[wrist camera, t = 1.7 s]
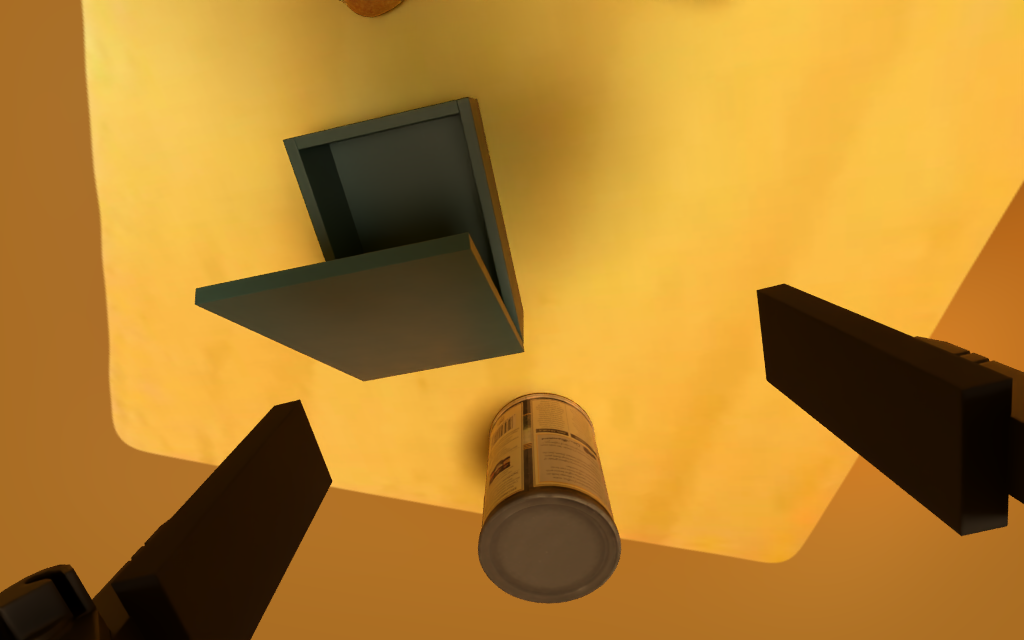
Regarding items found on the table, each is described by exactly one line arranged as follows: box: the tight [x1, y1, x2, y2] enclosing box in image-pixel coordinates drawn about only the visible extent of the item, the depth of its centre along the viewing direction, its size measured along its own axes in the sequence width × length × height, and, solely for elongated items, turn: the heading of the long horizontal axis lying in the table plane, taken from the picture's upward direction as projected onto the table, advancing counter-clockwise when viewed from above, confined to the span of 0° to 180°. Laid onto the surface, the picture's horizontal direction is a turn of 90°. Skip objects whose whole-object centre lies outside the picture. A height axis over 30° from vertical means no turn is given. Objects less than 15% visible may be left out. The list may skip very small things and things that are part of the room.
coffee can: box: [478, 394, 621, 603], centre depth 44 cm, size 10×10×14 cm
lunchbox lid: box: [195, 232, 524, 381], centre depth 31 cm, size 18×13×1 cm
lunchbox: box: [283, 97, 523, 342], centre depth 40 cm, size 18×13×7 cm
